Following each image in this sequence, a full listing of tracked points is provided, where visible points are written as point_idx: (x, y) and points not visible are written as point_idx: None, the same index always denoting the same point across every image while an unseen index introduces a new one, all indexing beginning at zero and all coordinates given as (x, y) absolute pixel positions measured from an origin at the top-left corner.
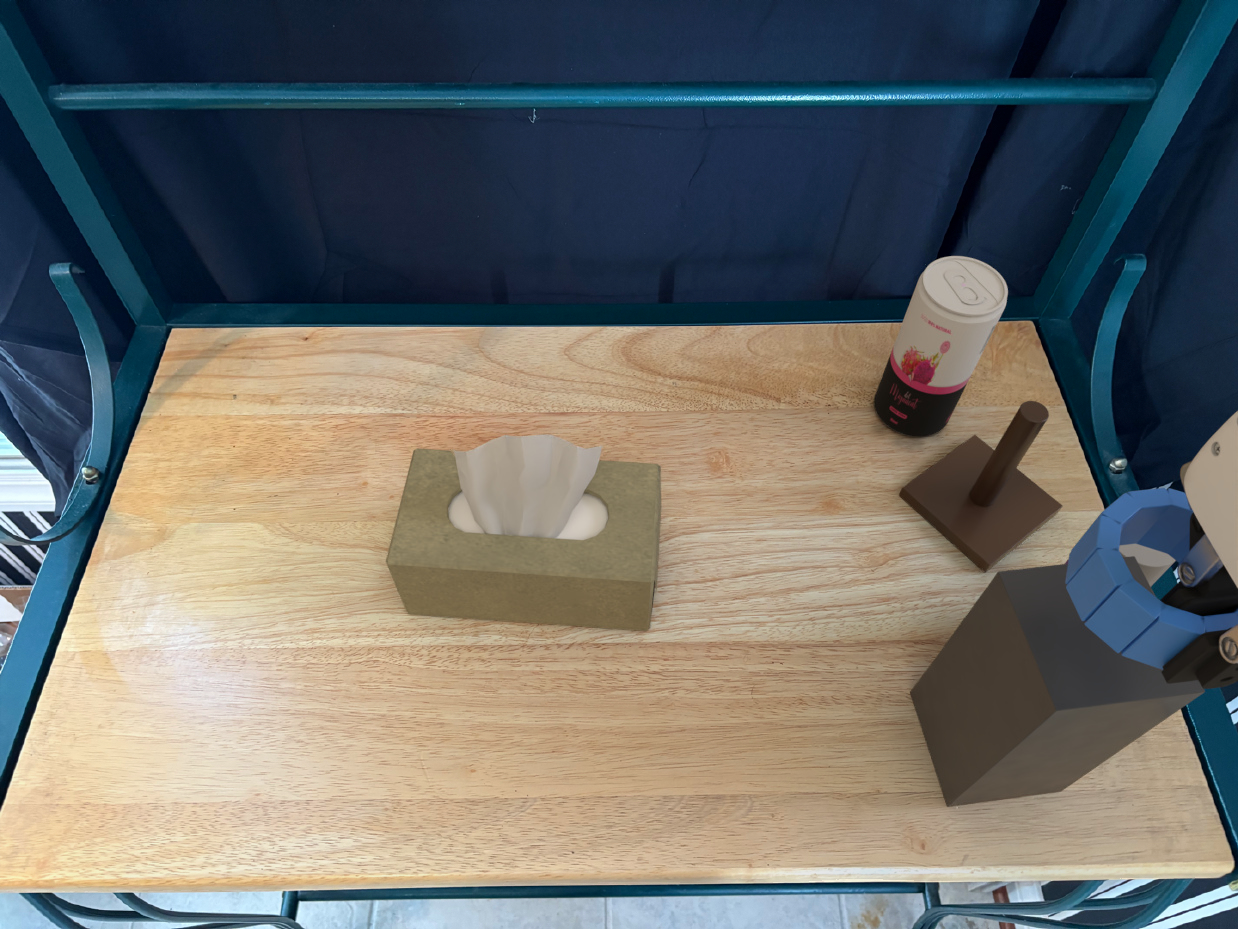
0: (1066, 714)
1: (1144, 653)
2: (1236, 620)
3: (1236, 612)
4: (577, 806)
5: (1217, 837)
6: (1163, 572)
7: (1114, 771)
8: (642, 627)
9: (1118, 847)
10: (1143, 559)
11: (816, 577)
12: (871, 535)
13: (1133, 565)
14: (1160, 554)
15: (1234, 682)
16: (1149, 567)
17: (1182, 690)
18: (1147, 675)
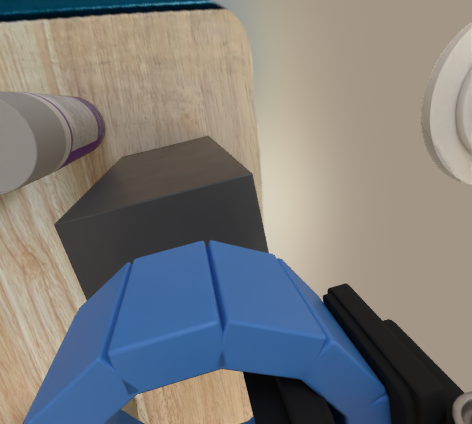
0: None
1: None
2: (363, 415)
3: (346, 414)
4: (248, 406)
5: (230, 16)
6: (32, 113)
7: (187, 90)
8: (135, 406)
9: (244, 100)
10: (27, 156)
11: (62, 303)
12: (5, 265)
13: (72, 228)
14: (10, 129)
15: (390, 320)
16: (37, 147)
17: (252, 201)
18: (236, 236)
